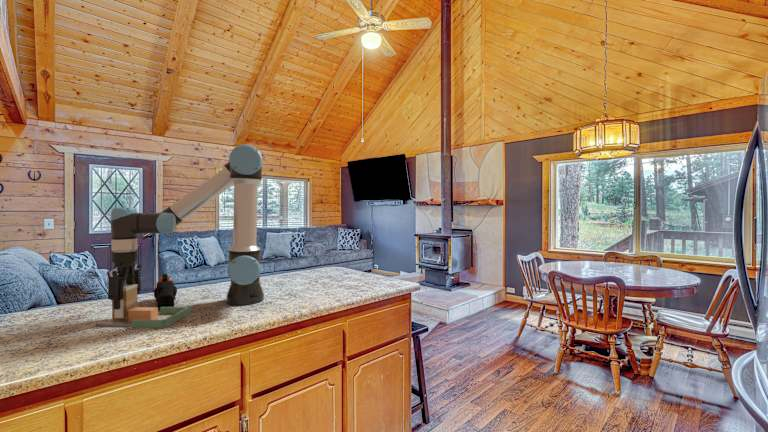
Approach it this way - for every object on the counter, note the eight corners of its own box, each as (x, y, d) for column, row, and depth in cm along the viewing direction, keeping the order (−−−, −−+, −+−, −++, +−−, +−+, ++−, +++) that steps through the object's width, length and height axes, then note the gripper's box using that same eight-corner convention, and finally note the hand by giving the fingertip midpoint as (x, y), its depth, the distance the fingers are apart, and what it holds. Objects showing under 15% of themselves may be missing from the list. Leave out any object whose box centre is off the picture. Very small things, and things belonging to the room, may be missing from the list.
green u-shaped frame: (190, 313, 135) (190, 306, 135) (165, 327, 119) (165, 320, 119) (161, 313, 135) (161, 306, 135) (132, 327, 119) (132, 320, 119)
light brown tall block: (138, 317, 130) (137, 284, 129) (126, 322, 124) (126, 288, 124) (123, 317, 130) (123, 284, 129) (111, 322, 124) (111, 287, 124)
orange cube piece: (158, 318, 129) (157, 307, 129) (150, 321, 125) (150, 310, 125) (147, 318, 129) (146, 307, 129) (139, 321, 125) (139, 310, 125)
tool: (154, 328, 138) (152, 296, 133) (155, 294, 156) (153, 265, 151) (178, 324, 143) (177, 293, 137) (176, 292, 160) (175, 263, 155)
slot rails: (157, 313, 134) (157, 311, 134) (131, 326, 120) (131, 323, 120) (125, 313, 134) (125, 311, 134) (95, 326, 120) (95, 323, 120)
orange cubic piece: (146, 318, 129) (146, 307, 129) (139, 321, 125) (139, 310, 125) (135, 318, 129) (135, 307, 129) (128, 321, 125) (127, 310, 125)
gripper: (132, 247, 135) (133, 307, 136) (92, 254, 117) (94, 323, 118) (152, 247, 135) (152, 307, 136) (115, 254, 117) (116, 323, 118)
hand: (125, 314), depth 127 cm, fingers closed on light brown tall block, 5 cm apart
